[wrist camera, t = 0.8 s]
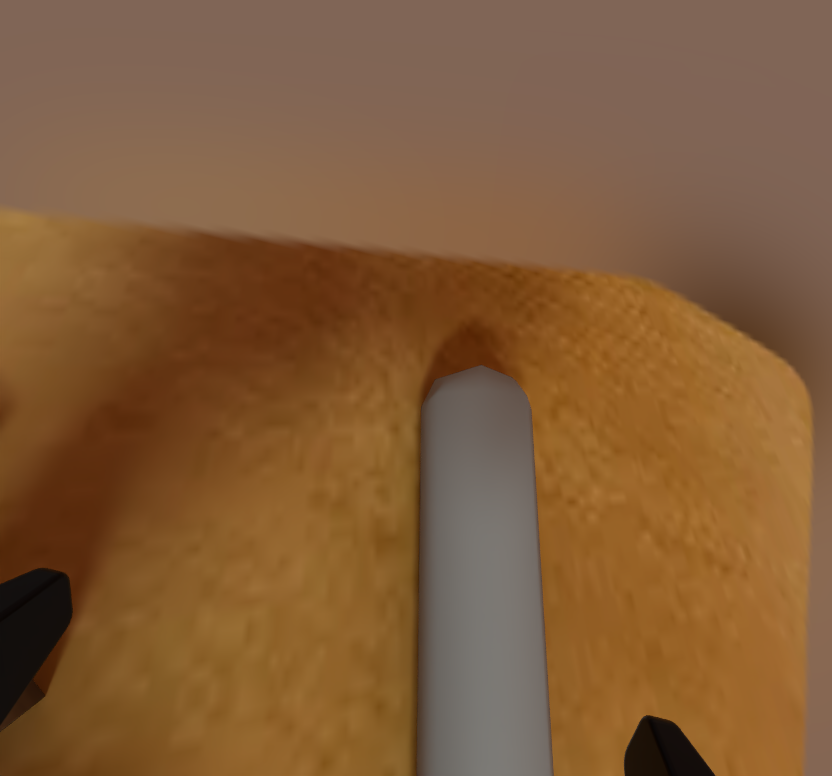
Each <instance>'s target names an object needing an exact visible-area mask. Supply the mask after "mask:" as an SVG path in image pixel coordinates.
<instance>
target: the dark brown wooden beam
mask: <svg viewBox="0 0 832 776" xmlns="http://www.w3.org/2000/svg"><path fill="white" fill-rule="evenodd" d="M44 697H45V695H44V694H43V692H42V691H41V690H40V689H39V687H38V686H37V685H36V683H35V682H34V681H33V679H32V681H31V682H30V684H29V685H28V686H27V688H26V689H25V691H24V692H23V694H22V695H21V697H20V698H19V700H18V701H17V703H16V704H15V706H14V707H13V709H12V710H11V711H10V713H9V714H8V716H7V717H6V718H5V720H4V721H3V723H2V724H1V725H0V732H1V731H2V730H3V729H5V728H6V727H7V726H8V725H10V724H11V723H12V722H13V721H15V720H16V719H17V718H18V717H20V716H21V715H22V714H23V713H25V712H26V711H27V710H29V709H30V708H31V707H32V706H34V705H35V704H36V703H37V702H39V701H40V700H41V699H42V698H44Z"/></svg>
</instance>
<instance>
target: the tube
mask: <svg viewBox="0 0 832 776" xmlns="http://www.w3.org/2000/svg"><path fill="white" fill-rule="evenodd" d="M417 776H554V773H553V756H552V740H551V723H550V707H549V691H548V674H547V658H546V641H545V625H544V608H543V592H542V576H541V559H540V543H539V526H538V510H537V493H536V477H535V461H534V444H533V428H532V411H531V407H530V404H529V401H528V398H527V395H526V394H525V393H524V391H523V390H522V389H521V387H520V386H519V384H518V383H517V382H516V381H515V380H514V379H513V378H512V377H510V376H507V375H505V374H502V373H500V372H497V371H495V370H492V369H490V368H488V367H485V366H483V365H480V366H477V367H473V368H470V369H467V370H464V371H461V372H457V373H454V374H451V375H448V376H445V377H441V378H438V379H435V381H434V383H433V385H432V387H431V389H430V391H429V393H428V395H427V397H426V399H425V401H424V403H423V405H422V407H421V468H420V549H419V629H418V710H417Z"/></svg>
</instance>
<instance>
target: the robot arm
mask: <svg viewBox="0 0 832 776" xmlns="http://www.w3.org/2000/svg"><path fill="white" fill-rule="evenodd" d="M72 613H73V608H72V599H71V589H70V580H69V577H68V576H67V574H66V573H64V572H60V571H56V570H52V569H48V568H38V569H35V570H32V571H30V572H28V573H25V574H23V575H21V576H18V577H16V578H14V579H11V580H9V581H7V582H4V583H2V584H0V725H1V724H2V723H3V721H4V720H5V718H6V717H7V716H8V714H9V713H10V711H11V710H12V709H13V707H14V706H15V704H16V703H17V701H18V700H19V698H20V697H21V695H22V694H23V692H24V691H25V689H26V688H27V686H28V685H29V684H30V682H31V681H32V679H33V678H34V676H35V675H36V673H37V672H38V670H39V669H40V667H41V666H42V664H43V663H44V661H45V660H46V658H47V657H48V655H49V654H50V652H51V651H52V649H53V648H54V647H55V645H56V644H57V642H58V641H59V639H60V638H61V636H62V635H63V633H64V632H65V630H66V629H67V627H68V625H69V623H70V621H71V618H72ZM624 772H625V776H715V774H714V773H713V772H712V770H711V769H710V768H709V766H708V765H707V764H706V762H705V761H704V760H703V759H702V757H701V756H700V755H699V753H698V752H697V751H696V749H695V748H694V747H693V745H692V744H691V743H690V741H689V740H688V739H687V737H686V736H685V735H684V733H683V732H682V731H681V729H680V728H679V727H678V726H677V725H676V724H675V723H674V722H672V721H670V720H666V719H662V718H658V717H654V716H650V715H646V716H644V717H643V718H642V719H641V721H640V722H639V725H638V727H637V729H636V731H635V733H634V735H633V737H632V739H631V741H630V743H629V745H628V747H627V749H626V752H625V758H624Z"/></svg>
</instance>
